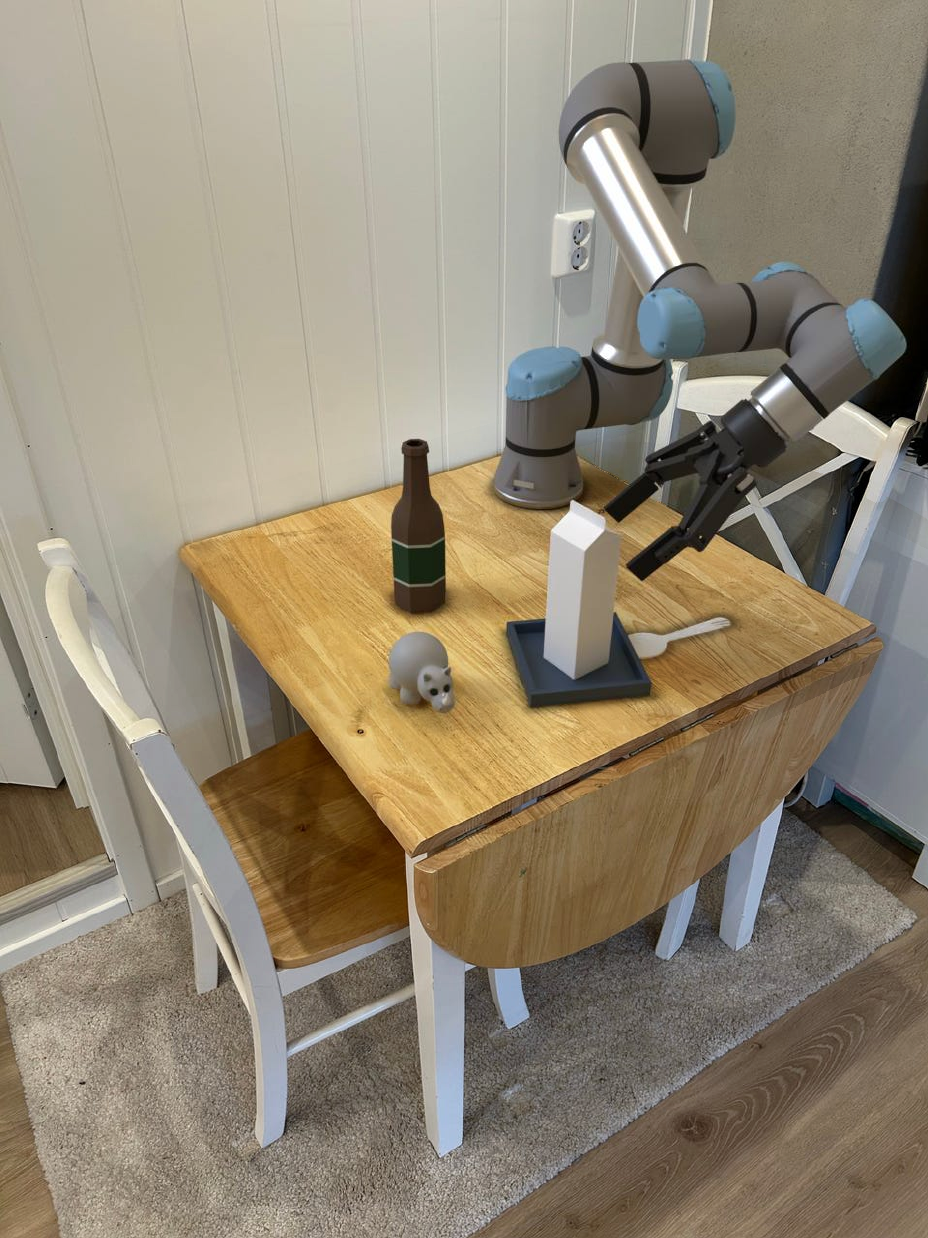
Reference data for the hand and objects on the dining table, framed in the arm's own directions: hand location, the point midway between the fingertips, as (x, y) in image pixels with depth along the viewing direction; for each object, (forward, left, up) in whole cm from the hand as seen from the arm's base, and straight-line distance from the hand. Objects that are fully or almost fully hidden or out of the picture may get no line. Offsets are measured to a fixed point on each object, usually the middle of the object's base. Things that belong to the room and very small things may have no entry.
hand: (621, 543), depth 114 cm
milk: (0, -4, -17) cm, 18 cm away
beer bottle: (-18, -22, -18) cm, 34 cm away
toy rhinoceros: (+5, -24, -18) cm, 31 cm away
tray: (0, -4, -18) cm, 18 cm away
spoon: (-4, +10, -18) cm, 21 cm away
